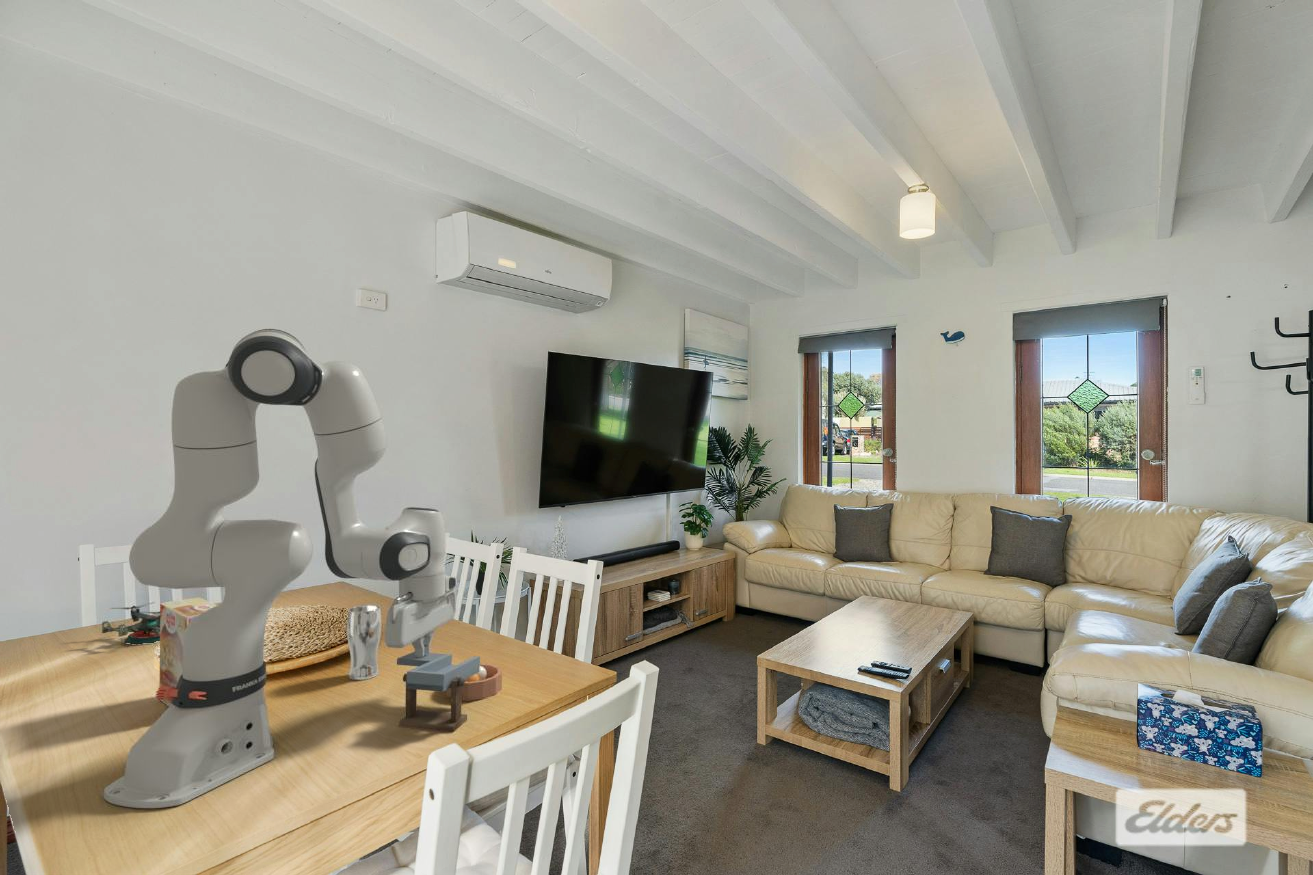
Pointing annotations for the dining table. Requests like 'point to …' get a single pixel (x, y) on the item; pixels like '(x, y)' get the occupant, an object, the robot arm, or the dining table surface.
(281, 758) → the dining table surface
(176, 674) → the coffeecake box
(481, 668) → the cream ball
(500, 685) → the round terracotta tray
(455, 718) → the trough stand
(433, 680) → the tipping trough
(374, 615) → the beer glass
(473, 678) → the orange ball
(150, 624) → the toy helicopter
